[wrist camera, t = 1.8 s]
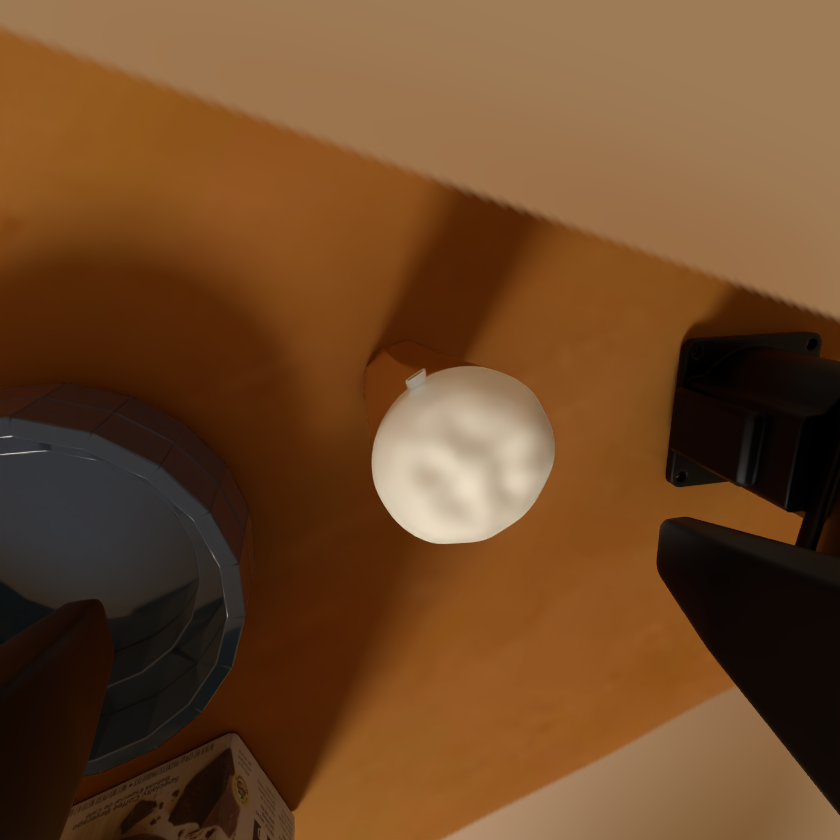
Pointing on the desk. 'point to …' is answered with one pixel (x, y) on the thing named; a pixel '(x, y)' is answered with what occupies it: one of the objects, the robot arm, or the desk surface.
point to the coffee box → (189, 801)
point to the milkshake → (453, 444)
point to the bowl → (124, 550)
